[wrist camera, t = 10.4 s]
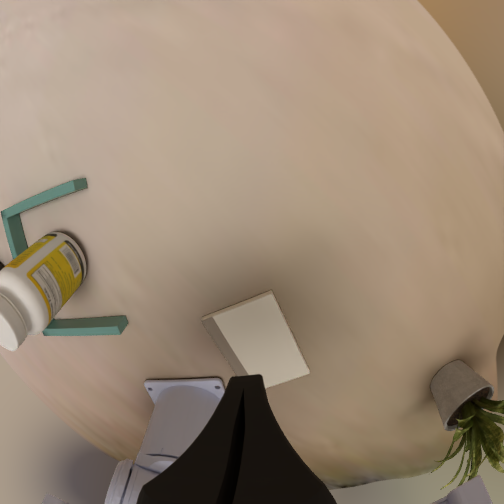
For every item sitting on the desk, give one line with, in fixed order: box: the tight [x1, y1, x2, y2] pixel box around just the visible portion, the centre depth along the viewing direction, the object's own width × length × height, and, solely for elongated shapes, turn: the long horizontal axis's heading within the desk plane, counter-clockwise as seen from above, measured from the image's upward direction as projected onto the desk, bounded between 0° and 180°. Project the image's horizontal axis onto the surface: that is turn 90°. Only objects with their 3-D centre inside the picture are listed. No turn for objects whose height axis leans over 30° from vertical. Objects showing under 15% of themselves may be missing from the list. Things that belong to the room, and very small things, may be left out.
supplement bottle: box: [0, 232, 86, 351], centre depth 16 cm, size 5×5×10 cm
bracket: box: [1, 178, 128, 336], centre depth 20 cm, size 13×10×2 cm
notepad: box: [201, 290, 310, 388], centre depth 23 cm, size 9×6×1 cm, turn 24°
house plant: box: [430, 360, 504, 488], centre depth 18 cm, size 14×14×16 cm
